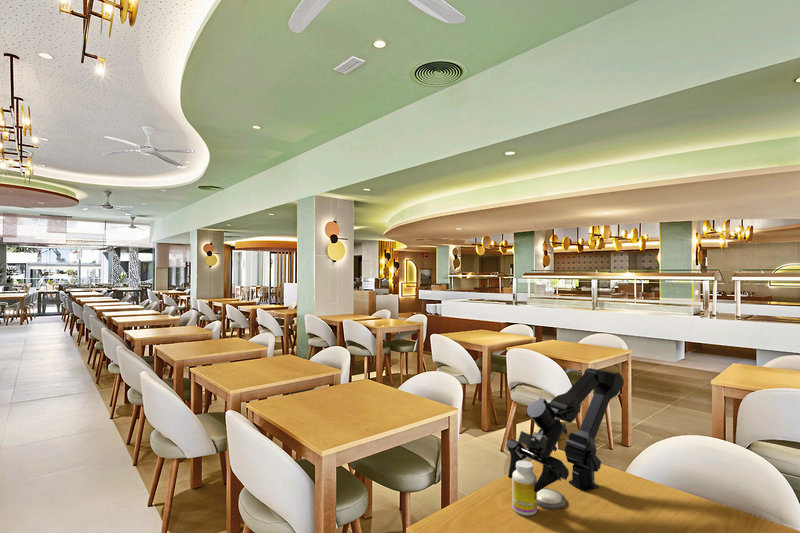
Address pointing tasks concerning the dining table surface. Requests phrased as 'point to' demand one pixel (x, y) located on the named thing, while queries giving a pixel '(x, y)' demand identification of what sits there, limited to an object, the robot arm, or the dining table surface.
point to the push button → (550, 499)
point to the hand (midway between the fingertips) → (521, 484)
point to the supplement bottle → (524, 489)
